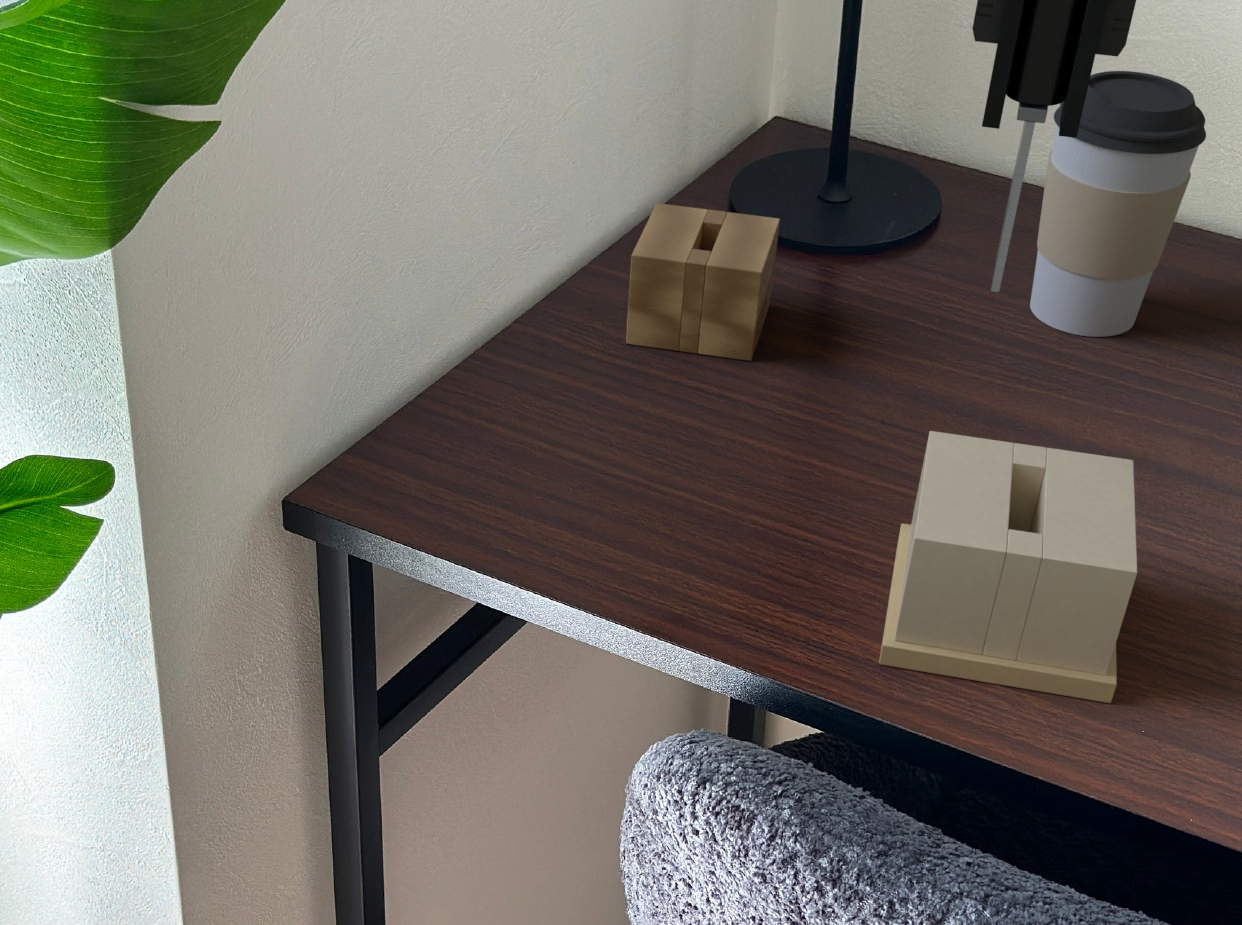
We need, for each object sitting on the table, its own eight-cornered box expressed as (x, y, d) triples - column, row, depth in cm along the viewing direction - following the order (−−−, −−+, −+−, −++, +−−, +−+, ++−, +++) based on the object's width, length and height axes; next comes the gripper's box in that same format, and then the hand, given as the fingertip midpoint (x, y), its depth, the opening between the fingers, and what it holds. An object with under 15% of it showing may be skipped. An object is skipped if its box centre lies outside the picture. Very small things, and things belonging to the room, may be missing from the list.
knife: (1026, 267, 81) (1115, -134, 70) (1023, 296, 79) (1114, -114, 68) (971, 260, 82) (1050, -140, 71) (966, 289, 80) (1047, -120, 68)
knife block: (769, 304, 113) (780, 218, 109) (751, 361, 107) (762, 271, 103) (650, 288, 114) (656, 202, 110) (625, 344, 108) (631, 254, 104)
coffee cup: (1117, 277, 117) (1175, 55, 107) (1177, 340, 110) (1245, 108, 101) (991, 284, 116) (1039, 60, 106) (1044, 348, 109) (1100, 114, 99)
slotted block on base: (1109, 574, 90) (1143, 456, 85) (1111, 703, 82) (1149, 580, 77) (897, 541, 92) (920, 423, 87) (878, 664, 83) (902, 541, 79)
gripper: (934, -538, 59) (841, 130, 74) (1415, -516, 56) (1217, 176, 71) (952, -553, 65) (863, 72, 80) (1390, -533, 62) (1212, 112, 77)
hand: (1030, 120), depth 76 cm, fingers closed on knife, 3 cm apart
